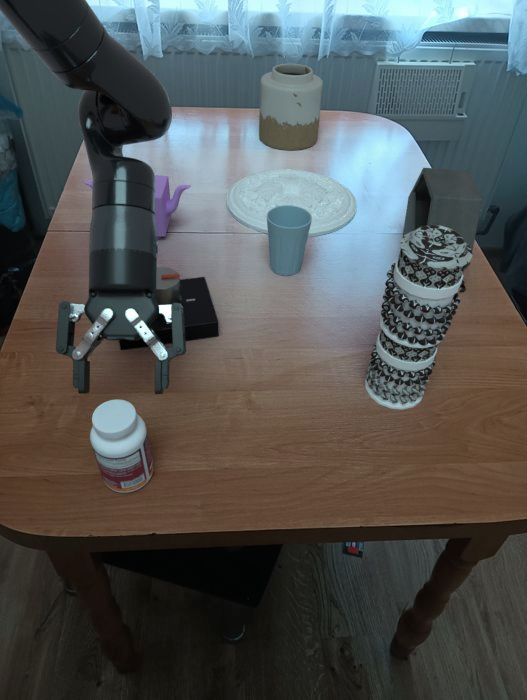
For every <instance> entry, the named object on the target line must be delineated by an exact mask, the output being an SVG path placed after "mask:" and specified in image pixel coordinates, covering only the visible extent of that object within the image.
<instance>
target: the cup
mask: <svg viewBox="0 0 527 700" xmlns="http://www.w3.org/2000/svg"><path fill="white" fill-rule="evenodd" d="M311 221H312V216H311V214H310V213H309V212H308V211H307V210H305V209H303V208H301V207H297V206H291V205H283V206H278V207H274V208H272V209H271V210H269V211H268V213H267V227H268V234H267V238H268V239H267V240H268V241H267V242H268V253H269V265H270V269H271V271H272V272H273V273H275V274H277V275H279V276H285V277H287V276H294V275H296V274H298V273H299V272H300V270H301V267H302V263H303V260H304V259H303V258H304V254H305V250H306V246H307V241H308V238H309V237H308V233H309V229H310V225H311Z"/></svg>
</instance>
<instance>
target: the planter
mask: <svg viewBox="0 0 527 700" xmlns="http://www.w3.org/2000/svg"><path fill="white" fill-rule="evenodd" d="M482 204H483V197H482V195H481V193H480V192H479V189H478V186H477V185H476V183H475V181H474V177H472V174H471V172H470V171H469V170H464V169H449V168H435V167H422V169H421V172H420V173H419V175H418V176H417V179H416V181H415V183H414V185H413V187H412V189H411V191H410V193H409V195H408V197H407V204H406V211H405V218H404V225H403V231H402V238H403V236H404V235H406V234H408V233H410V232H412V231H415V230H416V229H418V228H420V227H422V226H428V225H438V226H444V227H447V228H450V229H452V230H454V231H456V232H458V233H459V234H460V235H461V236H462V237H463V238H464V240H465V243H466V244H467V245H468V246H469V247H470V248H471V251H472V252H473V251H474V245H475V239H476V234H477V229H478V225H479V219H480V214H481V209H482ZM402 238H401V239H402ZM470 265H471V261H470V262H469V263H467V264H466V266H465V269H464V271H465V270H466V269H467V268H468V267H469V266H470Z"/></svg>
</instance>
